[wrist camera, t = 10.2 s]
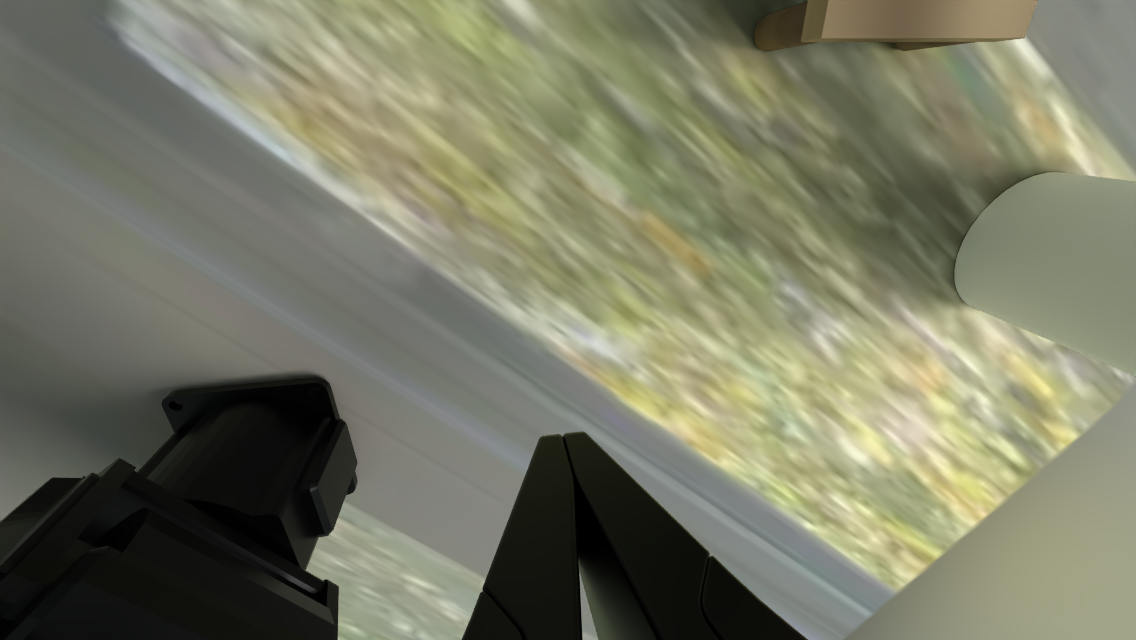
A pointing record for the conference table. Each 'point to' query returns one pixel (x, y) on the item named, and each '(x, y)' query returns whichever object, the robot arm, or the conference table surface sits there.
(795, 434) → the conference table surface
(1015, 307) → the cylindrical container
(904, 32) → the stool
